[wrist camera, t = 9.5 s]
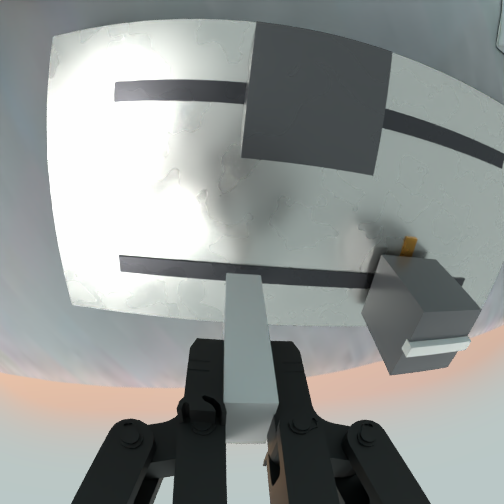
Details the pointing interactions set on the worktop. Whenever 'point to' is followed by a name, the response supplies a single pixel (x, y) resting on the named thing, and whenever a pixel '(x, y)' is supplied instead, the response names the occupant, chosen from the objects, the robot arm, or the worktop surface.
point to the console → (263, 169)
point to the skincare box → (501, 31)
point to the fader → (417, 314)
